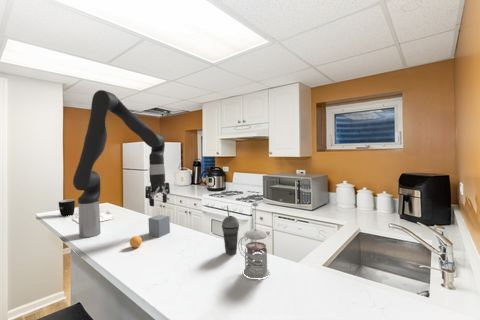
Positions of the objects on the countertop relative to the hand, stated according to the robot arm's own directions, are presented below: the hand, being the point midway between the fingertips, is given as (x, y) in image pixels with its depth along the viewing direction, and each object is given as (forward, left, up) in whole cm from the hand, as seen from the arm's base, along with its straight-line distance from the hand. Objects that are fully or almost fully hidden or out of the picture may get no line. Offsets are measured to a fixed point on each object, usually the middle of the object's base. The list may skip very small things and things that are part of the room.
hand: (158, 204), depth 124 cm
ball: (+3, -17, -13) cm, 22 cm away
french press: (+60, -14, -16) cm, 63 cm away
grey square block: (0, 0, -16) cm, 16 cm away
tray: (-63, +4, -17) cm, 66 cm away
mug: (-85, 0, -16) cm, 87 cm away
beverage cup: (+45, -4, -16) cm, 48 cm away
